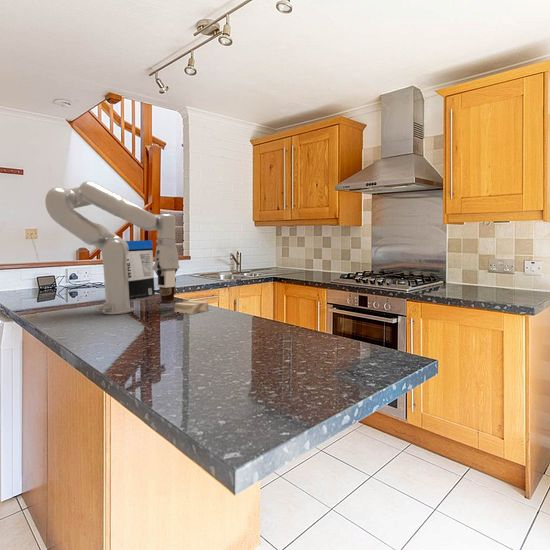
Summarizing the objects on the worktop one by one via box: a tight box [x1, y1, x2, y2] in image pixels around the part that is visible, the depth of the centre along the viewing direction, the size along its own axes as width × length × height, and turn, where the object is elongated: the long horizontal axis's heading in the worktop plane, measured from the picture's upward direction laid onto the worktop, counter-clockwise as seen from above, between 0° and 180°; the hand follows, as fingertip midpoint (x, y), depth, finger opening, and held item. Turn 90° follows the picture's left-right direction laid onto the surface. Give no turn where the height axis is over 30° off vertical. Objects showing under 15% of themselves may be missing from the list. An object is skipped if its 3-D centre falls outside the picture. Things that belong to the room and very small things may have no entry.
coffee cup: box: [158, 277, 177, 303], centre depth 202 cm, size 9×8×13 cm
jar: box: [157, 269, 176, 288], centre depth 181 cm, size 5×5×8 cm
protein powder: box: [125, 239, 156, 300], centre depth 219 cm, size 10×24×30 cm, turn 148°
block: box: [173, 300, 209, 315], centre depth 176 cm, size 10×10×4 cm
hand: (166, 283), depth 181 cm, fingers closed on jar, 5 cm apart
